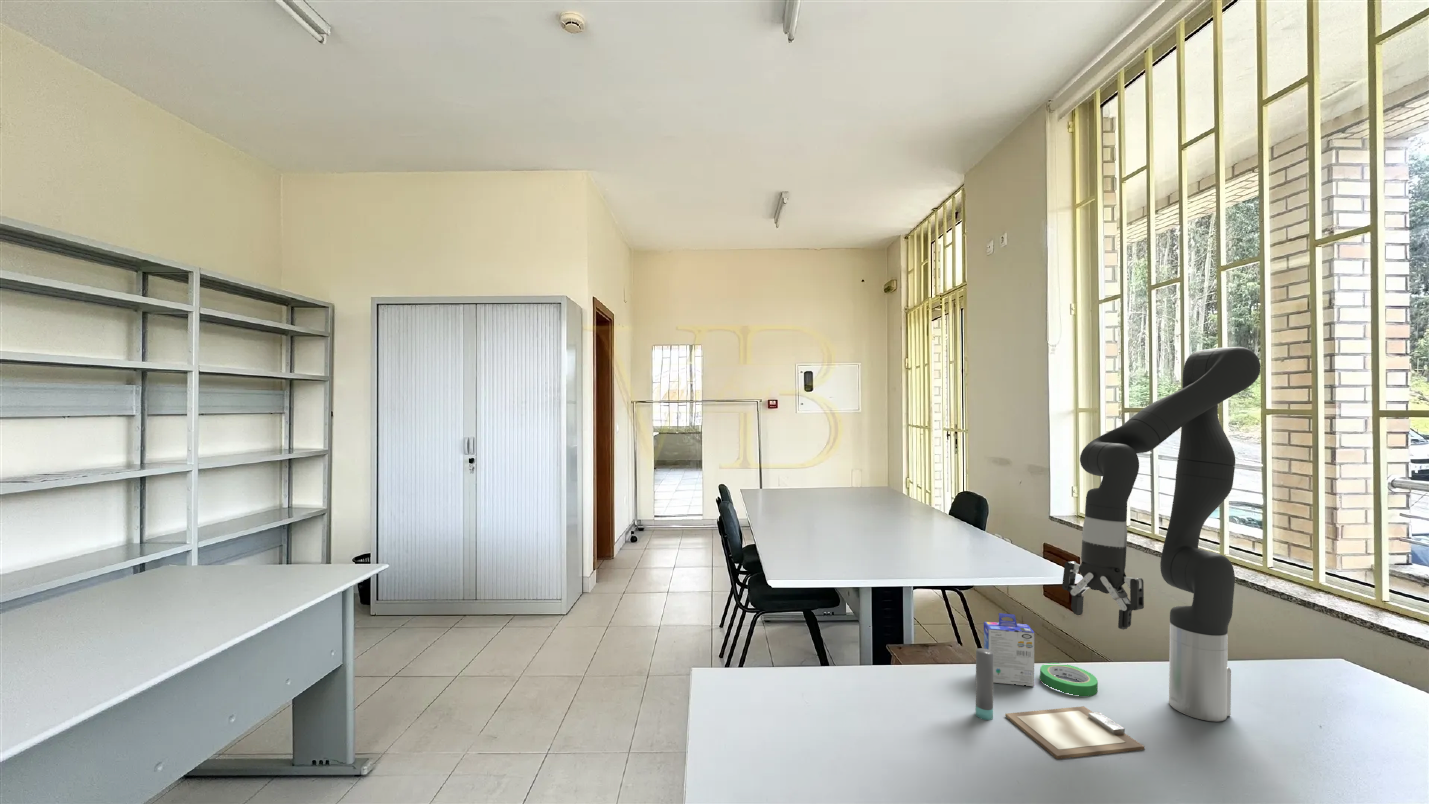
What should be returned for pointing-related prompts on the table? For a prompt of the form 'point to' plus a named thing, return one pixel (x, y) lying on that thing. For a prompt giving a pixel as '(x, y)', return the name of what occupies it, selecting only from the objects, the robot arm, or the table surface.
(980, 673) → the marker
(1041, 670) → the tape roll
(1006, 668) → the ink cartridge box
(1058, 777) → the table surface
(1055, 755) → the clipboard
